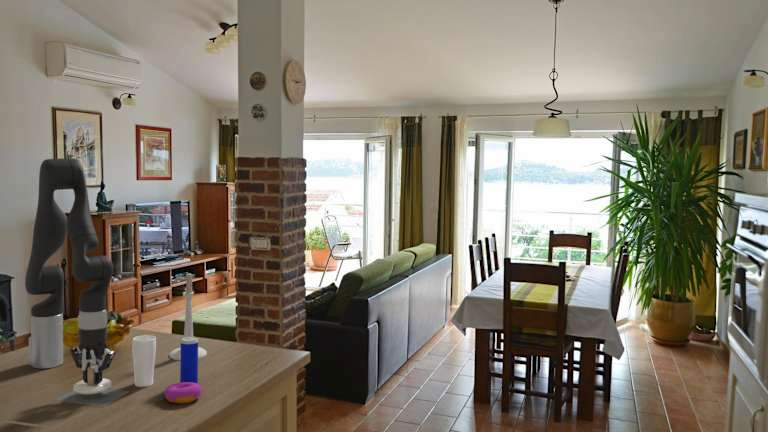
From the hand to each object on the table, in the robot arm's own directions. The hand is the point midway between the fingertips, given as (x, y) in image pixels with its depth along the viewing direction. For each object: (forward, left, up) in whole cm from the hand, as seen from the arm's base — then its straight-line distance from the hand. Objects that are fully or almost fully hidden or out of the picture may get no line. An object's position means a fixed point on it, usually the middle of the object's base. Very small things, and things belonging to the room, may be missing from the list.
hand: (92, 382), depth 174 cm
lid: (0, 0, -2) cm, 2 cm away
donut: (+25, +7, -5) cm, 26 cm away
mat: (0, 0, -4) cm, 4 cm away
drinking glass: (+8, +13, -5) cm, 16 cm away
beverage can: (+21, +17, -5) cm, 27 cm away
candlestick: (+5, +44, -5) cm, 44 cm away
